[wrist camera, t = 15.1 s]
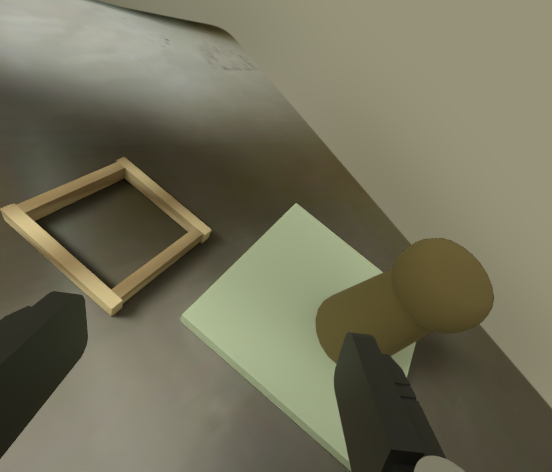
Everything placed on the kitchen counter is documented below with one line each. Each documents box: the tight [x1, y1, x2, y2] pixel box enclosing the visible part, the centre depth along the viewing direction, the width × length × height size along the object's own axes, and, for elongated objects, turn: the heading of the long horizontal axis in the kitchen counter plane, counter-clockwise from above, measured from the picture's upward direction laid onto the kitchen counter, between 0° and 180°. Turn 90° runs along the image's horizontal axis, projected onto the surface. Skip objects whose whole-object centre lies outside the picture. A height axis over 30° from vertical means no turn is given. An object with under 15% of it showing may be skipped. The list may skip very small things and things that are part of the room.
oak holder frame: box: [0, 157, 211, 317], centre depth 22 cm, size 10×9×1 cm
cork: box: [315, 238, 494, 364], centre depth 20 cm, size 6×6×11 cm
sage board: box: [180, 203, 416, 471], centre depth 25 cm, size 16×16×1 cm
